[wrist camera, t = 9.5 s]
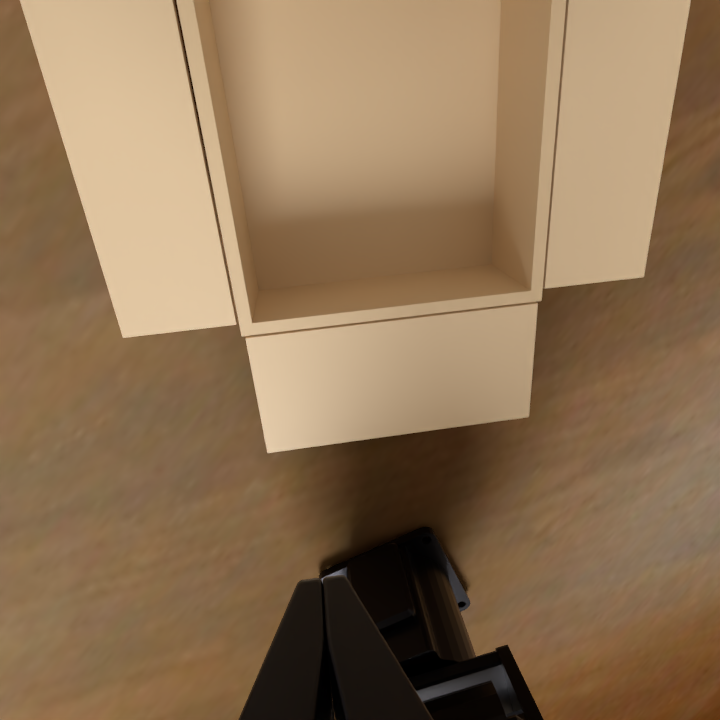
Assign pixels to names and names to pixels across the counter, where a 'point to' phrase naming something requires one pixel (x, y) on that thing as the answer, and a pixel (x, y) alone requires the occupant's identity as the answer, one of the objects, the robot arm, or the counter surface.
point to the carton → (364, 184)
